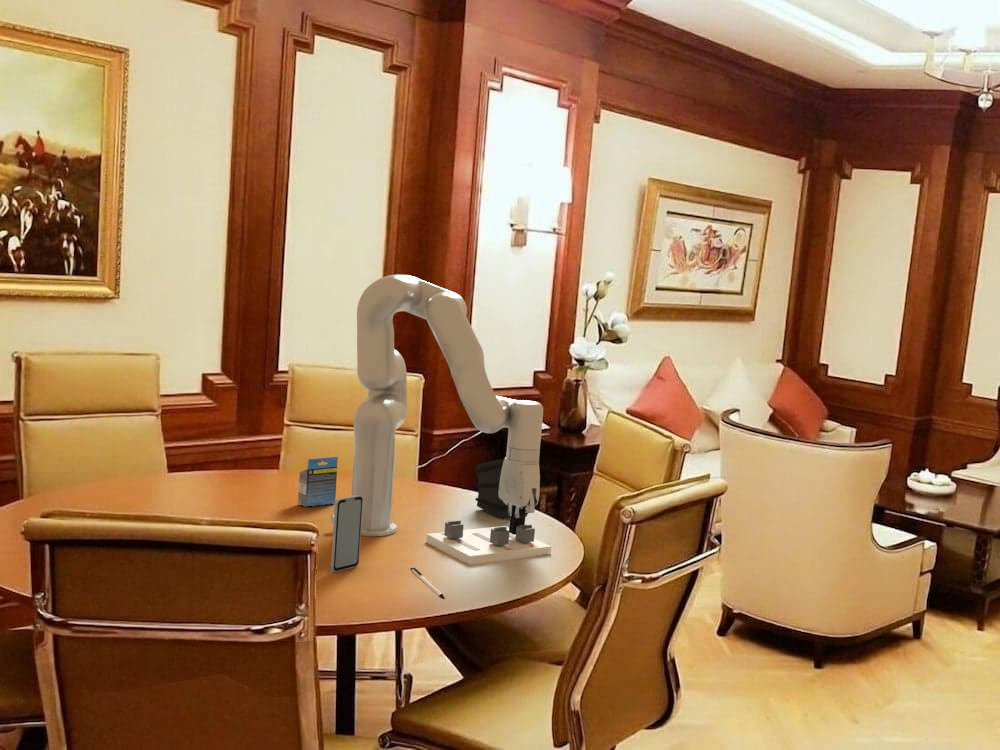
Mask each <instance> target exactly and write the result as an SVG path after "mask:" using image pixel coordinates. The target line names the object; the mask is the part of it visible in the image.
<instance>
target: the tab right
mask: <svg viewBox="0 0 1000 750" xmlns="http://www.w3.org/2000/svg"><path fill="white" fill-rule="evenodd" d="M535 533H536V528H534V527H533V525H532V524H531V523H527V524H525V525H520V526H517V527H516V538H515V539H516V540H518V541H520V542H522V543H527V542H534V539H535Z"/></svg>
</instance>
